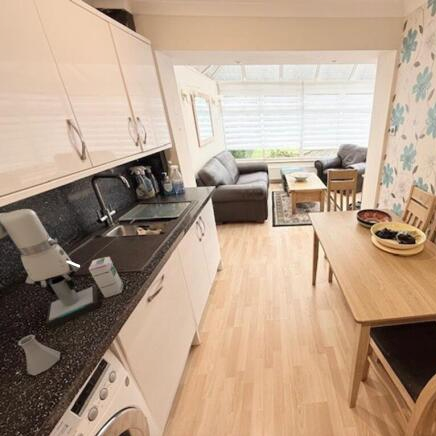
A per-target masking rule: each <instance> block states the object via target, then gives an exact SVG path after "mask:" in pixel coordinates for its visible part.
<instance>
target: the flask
mask: <svg viewBox="0 0 436 436" xmlns="http://www.w3.org/2000/svg"><path fill="white" fill-rule="evenodd" d="M17 345H18V346H21V348H22V349H23V351H24V353H25V358H26V371H27V375H31V376H37V375H39V374H41V373H43V372H45V371H47V370H49V369H51V367H52V366H54V365H55V364H56V363H57V362H58V361H60V359H61V351H58V350H56V349H53V348H50V347H48V346H46V345H44V344H42V343H40V342H38V340H37V339H36V336H35V335H34V334H29V335H26V336H24V337H23V338H21V339H20V340H18V343H17Z"/></svg>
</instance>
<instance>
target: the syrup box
mask: <svg viewBox="0 0 436 436" xmlns="http://www.w3.org/2000/svg"><path fill="white" fill-rule="evenodd" d="M88 271H89V273H90V274H91V276H92V278H93V280H94V281H95V283H96V285H97V286H98V288H99V290H100V292H101V294H102V295H103V297H104V298H105V299H106V298H109V297H113V296H116V295H119V294H122V292H123V288H124V283H123V280H122V279H121V276H120V275H119V273H118V271H117V268H116V267H115V265H114V262H113V261H112V258H111V256H109V255H108V256H103V257H100V258H96V259H94V260H93V259H92V261H91V263H90V265H89V267H88Z"/></svg>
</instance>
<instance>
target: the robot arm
mask: <svg viewBox="0 0 436 436" xmlns="http://www.w3.org/2000/svg"><path fill="white" fill-rule="evenodd" d="M6 236H9V237H10V239H11V240H12V242H13V243H14V245H15V246H16V248H17V249H18V251H19V252H20V253H21V255H20V259H21V262H22V265H23V267H24V270H25V271H26V273H27V277H26V280H25V283H26V284H32V285H35V286H39V287H42V288H45V290H46V291H47V293H48V294H50V296H51V297H53V296H55V295H56V293H55V292H54V290H53V289H52V287H51V285H50V284H49V283H50V281H51V280H50V279H51V278H54V277H55V278H56V277H59V276H63V277H64V278H66V279H67V281H66V283H67V285H68V286H69V288H70V289H71V290H73V289H74V290H75V288H76V286H77V281H76V279H75V278H74V276H75V274H76V273H77V272H78V271H79V270H80V268H81V265H80V264H78V263H75V262H73V261H72V260H71V258H70V257H69V256H68V254H67V253H66V251H64V249H63V248H62V247H61V246H60V245H59V244H58V242H59V241H58V239H57V238H53V239H52V237H51V236H50V235H49V233H48V232H47V230H46V228H45V227H44V225H43V223H42V221H41V220H40V218H39V217H38V214H37V213H36V212H35V210H32V209H30V208H22V209H16V210H13V211H12V210H11V211H9V212H3V213H1V212H0V240H1V239H3V238H5V237H6Z"/></svg>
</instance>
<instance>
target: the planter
mask: <svg viewBox="0 0 436 436" xmlns="http://www.w3.org/2000/svg"><path fill="white" fill-rule="evenodd" d="M49 281H50V283H49V284H50V285H51V287H52V289H53V290H54V292H55V293H56V294H55V295H56V297H57V298H58V300H60V301H61V302H62V304H63V305H64V306H71V305H73V304H75V303H76V302H78V300H79V297H78V295H77V293H78V292H76V290H75V288H74V289H73V290H71V289H70V288H69V286H68V285H67V283H66V281H67V279H66V278H64V277H63V276H62V275H59V276H56V277H55V278H53V279H51V280H49Z"/></svg>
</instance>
